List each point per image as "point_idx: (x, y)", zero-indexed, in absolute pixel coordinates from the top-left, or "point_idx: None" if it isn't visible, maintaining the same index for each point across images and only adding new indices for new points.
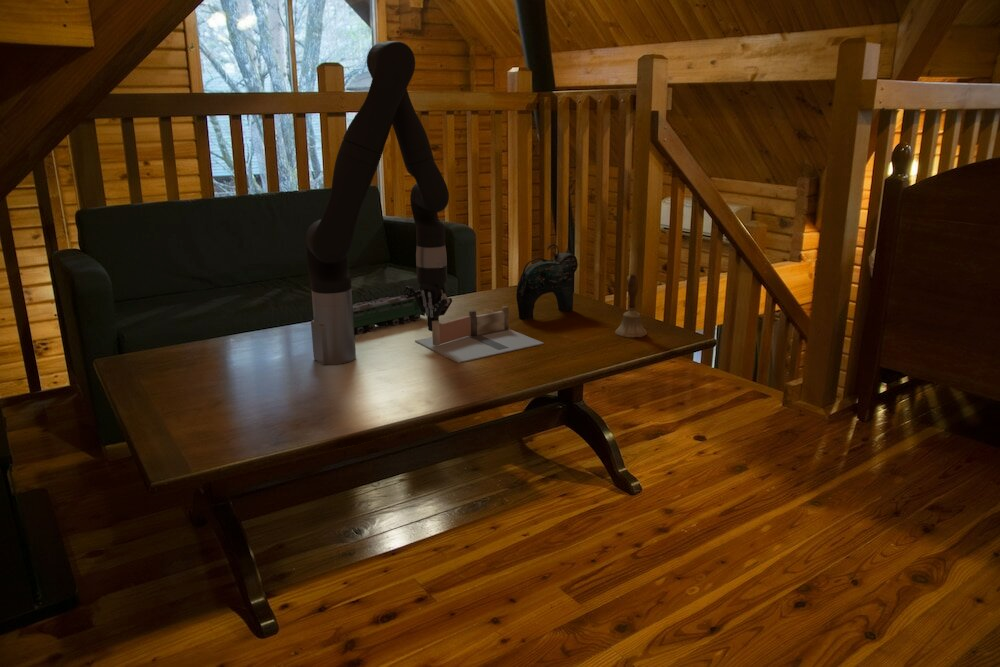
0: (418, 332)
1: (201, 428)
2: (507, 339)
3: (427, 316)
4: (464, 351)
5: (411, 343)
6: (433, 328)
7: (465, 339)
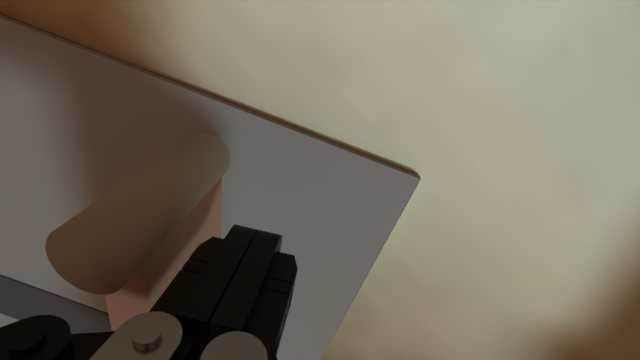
0: (512, 320)
1: None
2: None
3: (240, 332)
4: (22, 159)
5: (418, 131)
6: (121, 188)
7: None
